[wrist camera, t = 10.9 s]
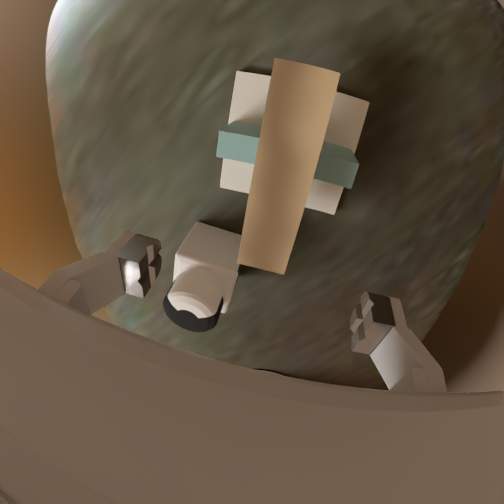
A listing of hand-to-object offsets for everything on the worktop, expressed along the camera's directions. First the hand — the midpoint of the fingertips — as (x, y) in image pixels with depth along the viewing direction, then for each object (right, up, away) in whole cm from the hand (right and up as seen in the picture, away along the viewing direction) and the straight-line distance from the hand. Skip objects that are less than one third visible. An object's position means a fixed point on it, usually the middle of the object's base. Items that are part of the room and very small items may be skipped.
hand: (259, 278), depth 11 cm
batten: (+3, +9, +12) cm, 15 cm away
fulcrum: (+4, +12, +16) cm, 21 cm away
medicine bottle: (-5, +1, +27) cm, 27 cm away
